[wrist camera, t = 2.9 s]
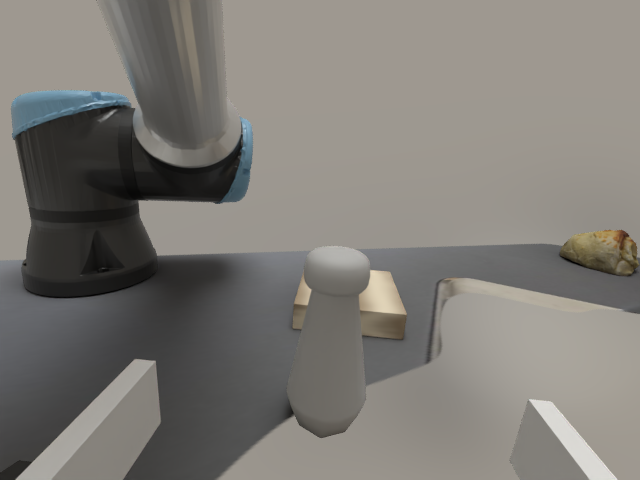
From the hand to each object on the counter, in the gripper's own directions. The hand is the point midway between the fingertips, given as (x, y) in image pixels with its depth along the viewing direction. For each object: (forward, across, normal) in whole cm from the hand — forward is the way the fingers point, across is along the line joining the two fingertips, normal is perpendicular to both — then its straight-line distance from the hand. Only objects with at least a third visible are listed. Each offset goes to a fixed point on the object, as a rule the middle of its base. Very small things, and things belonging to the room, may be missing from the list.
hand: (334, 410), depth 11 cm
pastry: (+57, +55, -10) cm, 80 cm away
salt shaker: (+10, 0, -10) cm, 14 cm away
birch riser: (+27, +2, -10) cm, 29 cm away
